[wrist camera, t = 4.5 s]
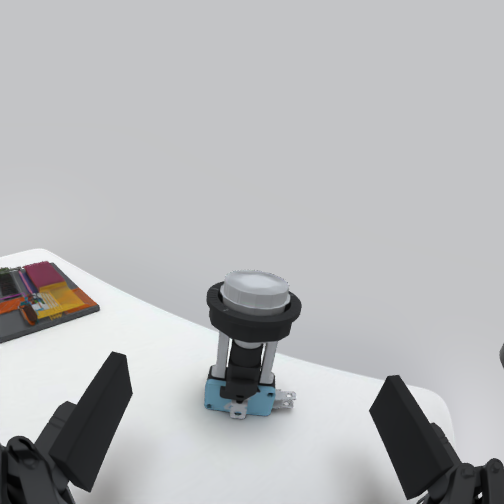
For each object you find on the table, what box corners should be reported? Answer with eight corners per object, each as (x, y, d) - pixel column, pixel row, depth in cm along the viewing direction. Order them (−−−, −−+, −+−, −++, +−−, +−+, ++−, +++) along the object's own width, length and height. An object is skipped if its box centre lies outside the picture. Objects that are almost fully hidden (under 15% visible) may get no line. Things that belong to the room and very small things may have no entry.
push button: (288, 386, 20) (318, 274, 17) (294, 436, 15) (339, 311, 12) (207, 377, 20) (216, 260, 17) (195, 425, 15) (198, 293, 12)
